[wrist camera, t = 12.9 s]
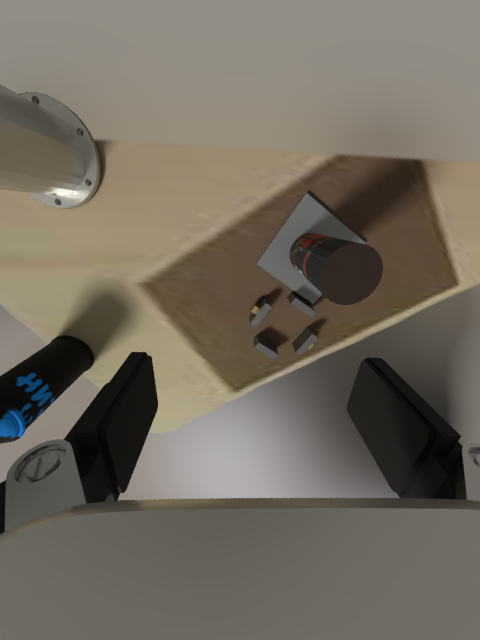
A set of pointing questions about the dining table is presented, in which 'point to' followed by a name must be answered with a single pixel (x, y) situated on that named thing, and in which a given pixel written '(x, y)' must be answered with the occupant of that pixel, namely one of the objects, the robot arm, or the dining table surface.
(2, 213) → the dining table surface
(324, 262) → the deodorant
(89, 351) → the aerosol can
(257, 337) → the collar
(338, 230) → the coaster
